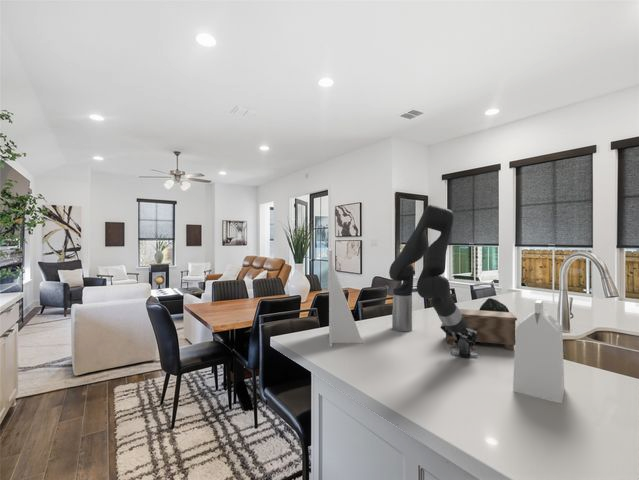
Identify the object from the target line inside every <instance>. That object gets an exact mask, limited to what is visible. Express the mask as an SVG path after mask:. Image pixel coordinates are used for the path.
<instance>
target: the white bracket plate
mask: <svg viewBox="0 0 639 480" xmlns="http://www.w3.org/2000/svg"><path fill="white" fill-rule="evenodd" d="M328 250H329V253H328V255H329V257H328V258H329V259H328V261H329V262H328V263H329V264H328V270H329V271H328V276H329V277H328V311H329V312H328V338H329V347H333V344H364V343H363V339H362V338H361V335H360V332H359V330H358V327H357V324H356V322H355V319H354V318H355V317H354V316H353V314H352V311H351V309H350V306H349V303H348V300H347V298H346V296H345V291H343V288H342V285H341V282H340V280H339V277H338V275H337V272H336V269H335V266H334V264H333V249H331V248H328Z"/></svg>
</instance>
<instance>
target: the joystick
mask: <svg viewBox="0 0 639 480" xmlns="http://www.w3.org/2000/svg"><path fill="white" fill-rule="evenodd" d="M468 338H469V337H468ZM450 347H451V356H457V357H458V356H459V358H461V359H470V358H476V359H478V357H479V355H478V350H477V348H476V347H475V346H473V347H471V346H470V344H469V343H468V341H467V340H466V339H464V338H463V337H462V336H461V335H459V343H458V345H457V344H451V346H450Z"/></svg>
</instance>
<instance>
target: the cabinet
mask: <svg viewBox="0 0 639 480" xmlns="http://www.w3.org/2000/svg"><path fill="white" fill-rule="evenodd" d="M459 310H460V312H461V313H462V315H463V317H464V319H465V321H466V325H467V326H468V327H469V329H472V330H474V329H477V330H478V333H477V339H476V341H475V342H477V343H478V342H480V343H491V344H499V345H500V344H501V345H504V346H503V347H504V349H505V350H511V351H515V340H516V321H518V317H517V316H515V314H514V313H513V312H510V311H509V312H496V311H481V310H478V309H476V310H475V309H465V308H464V309H463V308H459ZM449 333H450V331H449ZM445 339H446V340H447V344H451V345H456V339H455V338H453V336H452V337H450V336H448V335H447V334H446V333H445Z"/></svg>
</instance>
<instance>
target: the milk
mask: <svg viewBox="0 0 639 480" xmlns="http://www.w3.org/2000/svg"><path fill="white" fill-rule="evenodd" d="M563 341H564V339H563V326H562V325H561V324H560V322H558V319H557V318H556V317H555V316H554V315H553V314H552V313H550V312H548V311H546V309H544V300H542V299H541V300H540V299H537V300H536V301H535V302H534V311H533V312H531V313H530V314H528V315H527V316H526V317H524V318H523V319H521V320H520V321H519V323H518V324H517V325H516V327H515V345H514V365H513V383H512V392H515V393H517V394H518V393H519V394H523V395H526V396H530V397H534V398H538V399H543V400H546V401H551V402H554V403H558V404H563V399H564V393H565V370H564V369H565V366H564V345H563V344H564V342H563Z"/></svg>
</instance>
